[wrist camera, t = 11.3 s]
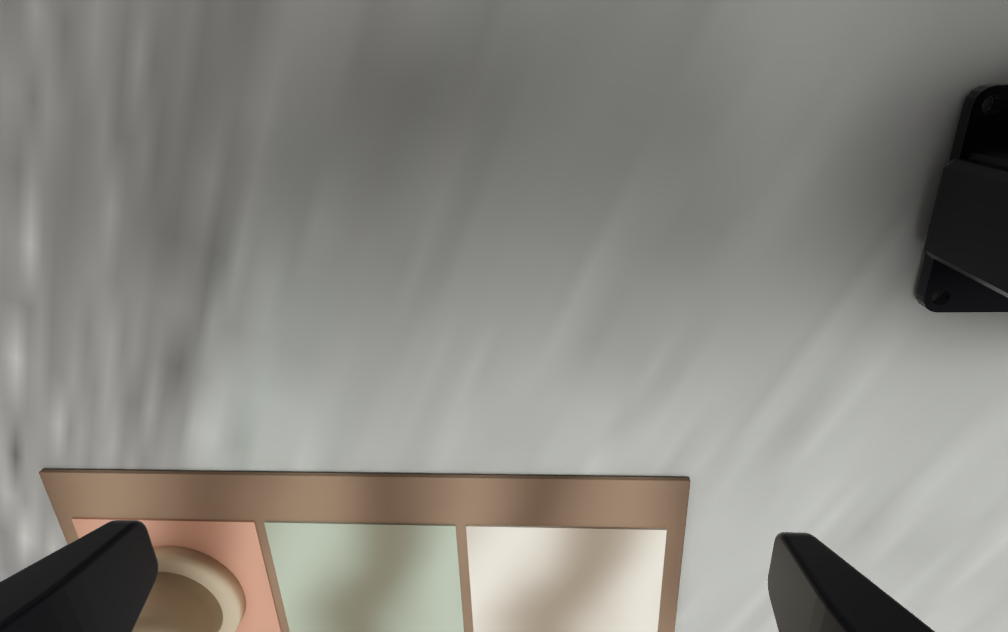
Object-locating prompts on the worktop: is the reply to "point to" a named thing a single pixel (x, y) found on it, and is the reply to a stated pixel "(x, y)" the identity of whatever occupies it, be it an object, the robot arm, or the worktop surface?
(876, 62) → the worktop surface
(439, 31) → the worktop surface
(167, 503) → the board
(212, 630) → the pawn
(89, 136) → the worktop surface
